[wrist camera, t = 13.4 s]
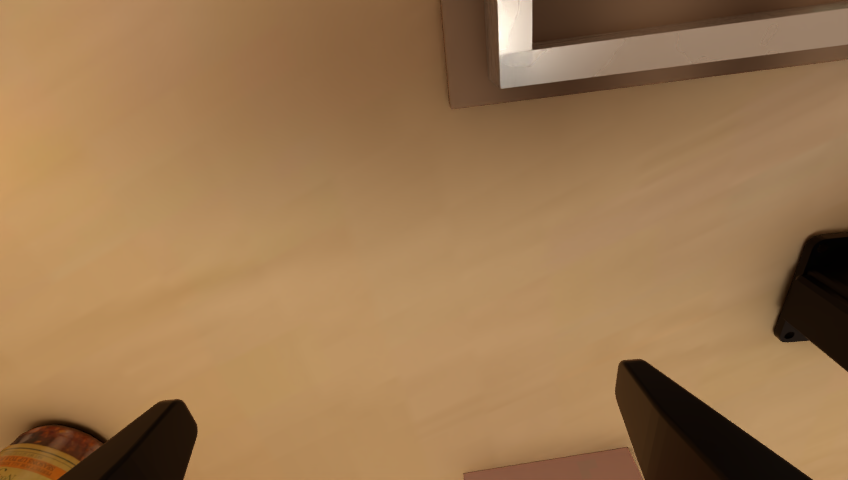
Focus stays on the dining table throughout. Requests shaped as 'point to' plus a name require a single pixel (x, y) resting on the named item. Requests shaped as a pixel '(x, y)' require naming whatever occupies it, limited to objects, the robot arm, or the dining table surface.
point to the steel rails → (650, 42)
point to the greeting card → (569, 468)
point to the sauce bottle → (45, 453)
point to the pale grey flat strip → (595, 14)
